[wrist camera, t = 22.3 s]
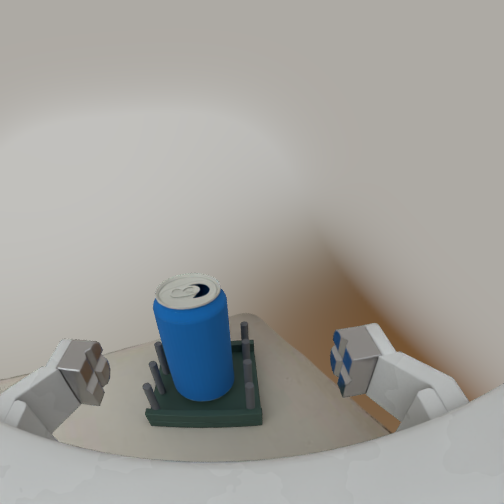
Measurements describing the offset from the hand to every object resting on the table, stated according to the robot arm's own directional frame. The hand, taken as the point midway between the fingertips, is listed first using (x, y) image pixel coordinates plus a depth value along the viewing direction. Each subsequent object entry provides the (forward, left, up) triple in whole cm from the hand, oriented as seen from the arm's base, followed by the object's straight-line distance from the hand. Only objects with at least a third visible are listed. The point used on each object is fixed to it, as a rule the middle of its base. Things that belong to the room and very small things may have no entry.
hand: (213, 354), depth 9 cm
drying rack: (+3, -14, -19) cm, 24 cm away
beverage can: (+3, -14, -18) cm, 23 cm away
